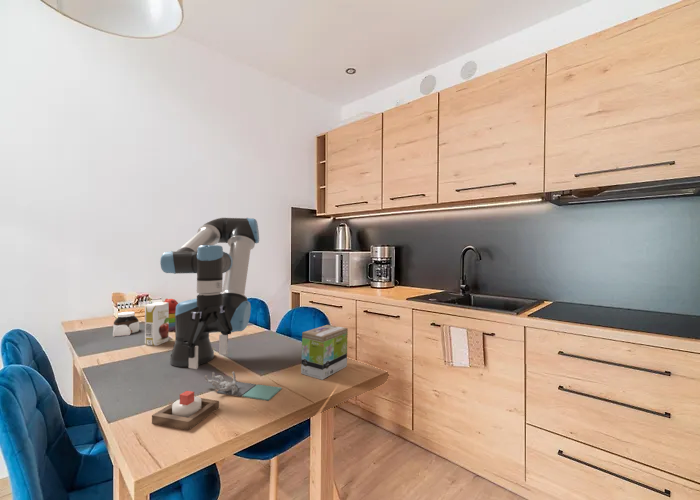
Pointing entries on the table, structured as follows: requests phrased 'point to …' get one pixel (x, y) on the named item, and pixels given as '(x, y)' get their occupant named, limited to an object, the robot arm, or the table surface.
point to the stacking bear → (171, 313)
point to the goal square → (262, 392)
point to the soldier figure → (223, 383)
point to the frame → (185, 423)
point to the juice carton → (156, 323)
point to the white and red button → (186, 405)
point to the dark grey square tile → (242, 389)
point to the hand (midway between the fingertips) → (209, 360)
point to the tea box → (324, 351)
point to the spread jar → (125, 324)
